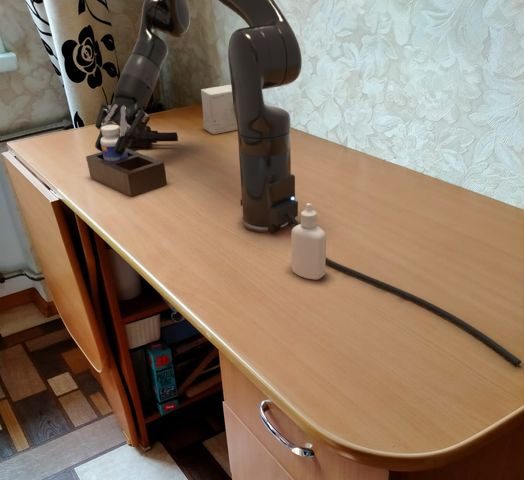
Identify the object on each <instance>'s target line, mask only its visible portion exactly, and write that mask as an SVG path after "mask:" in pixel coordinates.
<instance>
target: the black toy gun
mask: <svg viewBox="0 0 524 480" xmlns="http://www.w3.org/2000/svg"><path fill="white" fill-rule="evenodd" d="M137 129H138V128H137V127H136V129H135V131H134V132H135V133H136V131H137ZM158 142H179V136H178V132H177V131H176V132H174V131H173V132H171V131H170V132H159V131H158V130H152V127H150V126H149V125H146V127H145V128H144V130H143V132H142V133H141V135H140V137H139V139H138V140H135V139H132V140H131V141H130V142H129V143H128V145H127V147H126V148H128V149H130V148H152V145H153V144H157V143H158Z"/></svg>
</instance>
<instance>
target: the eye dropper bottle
mask: <svg viewBox="0 0 524 480" xmlns="http://www.w3.org/2000/svg"><path fill="white" fill-rule="evenodd" d="M317 221H318V212H317V211H316V210H314V209H313V206H312V203H311V202H310V203H309V202H308V203H306V204H305V209H304V210H302V211H301V212H300V223H299V225H297V226H295V225H294V227H292V229H291V244H290V245H291V246H290V247H291V252H290V253H291V271H292V272H293V273H294V274H295V275H297V276H299V277H301V278H304V279H309V280H315V281H317V280H320V279H321V278H323V277H324V276H325V275H326V265H327V263H326V258H327V235H326V232H325V230H323V229H322V228H321V227H320V226H319V225H318V222H317Z"/></svg>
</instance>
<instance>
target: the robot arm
mask: <svg viewBox="0 0 524 480" xmlns="http://www.w3.org/2000/svg"><path fill="white" fill-rule="evenodd" d="M218 2H220V3H221V4H223V5H224V6H225V7H227V8H228V9H229V10H231V11H232V12H234V13H235V14H236V15H238V16H239V17H240V18H241V19H242V20H243V21H244V22H245V23H246V24H247V25H248V26H247V27H240V28H238V29H235V31H233V33H232V34H231V35H230V38H229V42H228V49H227V55H228V56H227V57H228V71H229V78H230V85H231V87H232V96H233V107H234V113H235V117H236V121H237V129H238V130H237V141H238V142H237V143H238V144H237V145H238V155H239V156H238V159H239V160H238V161H239V171H240V172H239V173H240V190H241V199H240V207H242V224H243V227H245V228H246V229H247V230H250V231H253V232H257V233H269V234H273V235H274V234H276V233H278V232H280V231H283V230H285V229H287V228H289V227H291V226H293V225H294V227H295V226H297V225H299V224H300V223H299V221H298V220H297V219H296V218H297V217H298V216H299V201H297V200H296V176H295V174H293V173H292V165H291V164H292V161H291V159H292V158H291V157H292V156H291V151H292V150H291V149H292V148H291V147H292V146H291V144H292V142H291V141H292V140H291V138H292V137H291V116H290V113H289V112H288V111H287V110H285V109H284V108H281V107H278V106H273V105H270V104H269V105H268V104H266V103H265V100H264V94H263V90H267V89H273V88H279V87H284V86H287V85H290V84H292V83H294V82H295V81H296V80H298V78H299V77H300V74H301V71H302V66H303V58H302V51H301V48H300V43H299V40H298V37H297V35H296V34H295V32H294V30H293V28H292V26H291V25H290V23H289V21H288V20H287V18H286V17H285V15H284V14H283V12H282V10H281V9H280V8H279V6H278V4H277V3H276V1H275V0H218ZM190 9H191V8H190V5H189V2H188V0H144V1H143V2H142V9H141V19H140V26H139V31H138V35H137V39H136V42H135V45H134V46H133V49H132V51H131V54H130V56H129V58H128V60H127V61H126V63H125V65H124V67H123V69H122V72H121V74H120V76H119V79H118V80H117V84H116V86H115V88H114V91H113V94H114V101H112V102H111V104H109V105H108V104H106V103H105V102H102V103H101V105H100V108H99V111H98V114H97V119H96V122H95V128H96V129H98V131H99V134H98V136H97V139H96V141H95V144H94V147H95V148H96V149H97V150H98V151H99V152H102V147H101V142H100V140H101V138H102V137H104V136H103V135H102V130H101V128H102V127H103V126H106V125H118V126H119V127H121V128H120V135H121V136H119V138H118V140H117V143H116V145H115V148H114V150H113V151H114V153H116V154H117V155H118V156H122V155H123V153H124V152H125V149H126V147H127V145H128V143H129V142H130V141H131V140H132V139H135V140H138V139H139V137H140V135H141V133H142V132H143V130H144V128H145V127H146V126H148V125H147V124H148V123H149V121H150V120H151V116H150V115H149V114H148V113H147V112H145V110H146V109H147V107H148V104H149V102H150V100H151V97H152V96H153V92H154V90H155V88H156V86H157V84H158V80H159V76H160V74H161V71H162V68H163V65H164V63H165V61H166V59H167V57H168V54H169V47H168V45H167V44H166V42H165V41H164V40H163V39H162V38H161V37H159V36H158V35H157V34H155V33H154V32H155V30H157V31H159V32H161V33H164V34H166V35H167V36H171V37H172V38H181V37H183V36H184V35H186V33H187V32H188V30H189V28H190V24H191V10H190ZM102 122H103V123H102ZM136 127H137V128H138V129H137V131H136V133H135V132H134V131H135V129H136ZM326 265H329V266H331V267H333V268H335V269H337V270H340V271H342V272H345V273H347V274H350V275H352V276H354V277H357V278H359V279H361V280H364V281H367V282H368V283H371V284H374V285H376V286H378V287H381V288H383V289H385V290H388V291H390V292H393V293H395V294H397V295H400V296H402V297H403V298H406V299H409V300H411V301H413V302H415V303H417V304H419V305H422V306H423V307H426V308H428V309H430V310H431V311H434V312H435V313H437V314H439V315H441V316H442V317H444V318H446V319H448V320H450V321H451V322H453V323H455V324H457V325H458V326H459V327H462V328H463V329H465V330H466V331H468V332H470V333H471V334H473V335H474V336H476V337H477V338H479V339H480V340H482V341H483V342H485V343H486V344H488V345H489V346H490V347H492V348H493V349H494V350H496V351H497V352H498V353H500V354H501V355H503V356H504V357H505V358H507V360H509V361H510V362H512V363H513V364H514V365H516V366H519V365H521V364H522V360H521V359H519V358H518V357H516V356H515V355H514V354H512V353H511V352H510V351H508V350H507V349H506V348H504V347H503V346H501V345H500V344H499V343H497V342H496V341H495V340H493V339H492V338H490V337H489V336H488V335H486V334H485V333H483V332H481V331H480V330H478V329H477V328H475V327H474V326H472V325H470V324H469V323H467V322H466V321H464V320H463V319H461V318H459V317H457V316H456V315H454V314H453V313H450V312H448V311H446V310H444V309H443V308H441V307H439V306H437V305H435V304H433V303H431V302H429V301H427V300H425V299H423V298H420V297H419V296H417V295H414V294H413V293H412V294H411V293H409V292H407V291H405V290H403V289H400V288H398V287H396V286H394V285H391V284H389V283H386V282H383V281H381V280H379V279H377V278H374V277H371V276H368V275H366V274H364V273H362V272H359V271H357V270H355V269H352V268H350V267H347V266H344V265H342V264H340V263H338V262H335V261H333V260H331V259H329V258H328V257H326Z"/></svg>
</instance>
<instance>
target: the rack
mask: <svg viewBox="0 0 524 480" xmlns="http://www.w3.org/2000/svg"><path fill="white" fill-rule="evenodd" d="M127 154H128V157H126V158H123V159H120V160H117V161H113V162H108V161H106V160H104V157H103V152H102V151H99V152H96V153H93V154H89V155H87V156H85V159H86V163H87V168H88V171H89V172H88V173H89V177H90V179H92V180H95V181H96V182H99V183H101V184H103V185H105V186H107V187H109V188H111V189H114V190H115V191H118V192H120V193H122V194H124V195H126V196H128V197H131V198H133V197H137V196H139V195H142V194H145V193H147V192H150V191H152V190H156V189H159V188H161V187H164V186H167V185H168V181H167V175H166V167H165V163H164V161H161V160H159V159H156V158H154V157H151V156H149V155H146V154H142V153H140V152H138V151H135V150H133V149H130V148H127Z"/></svg>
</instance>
